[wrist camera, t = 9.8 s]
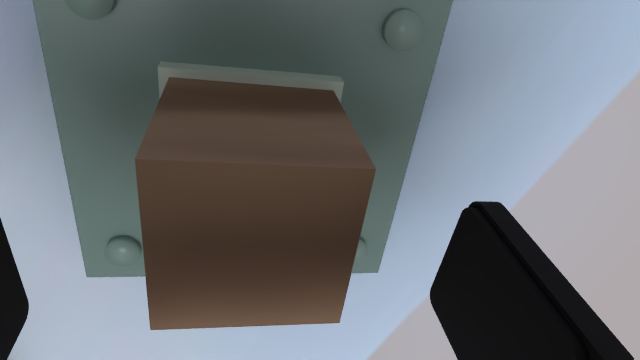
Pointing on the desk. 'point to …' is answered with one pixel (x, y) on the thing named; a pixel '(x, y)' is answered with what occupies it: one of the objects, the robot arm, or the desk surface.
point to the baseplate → (229, 66)
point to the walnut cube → (249, 205)
